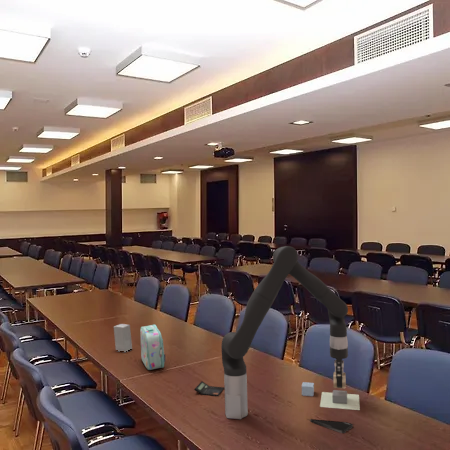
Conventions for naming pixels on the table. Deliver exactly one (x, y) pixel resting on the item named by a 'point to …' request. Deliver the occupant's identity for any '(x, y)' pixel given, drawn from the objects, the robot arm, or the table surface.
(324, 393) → the plate
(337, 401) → the base brick
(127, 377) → the table surface
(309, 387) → the blue block
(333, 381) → the birch block
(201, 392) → the calculator
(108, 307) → the table surface
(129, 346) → the skincare box
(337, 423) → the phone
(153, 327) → the lunch box
